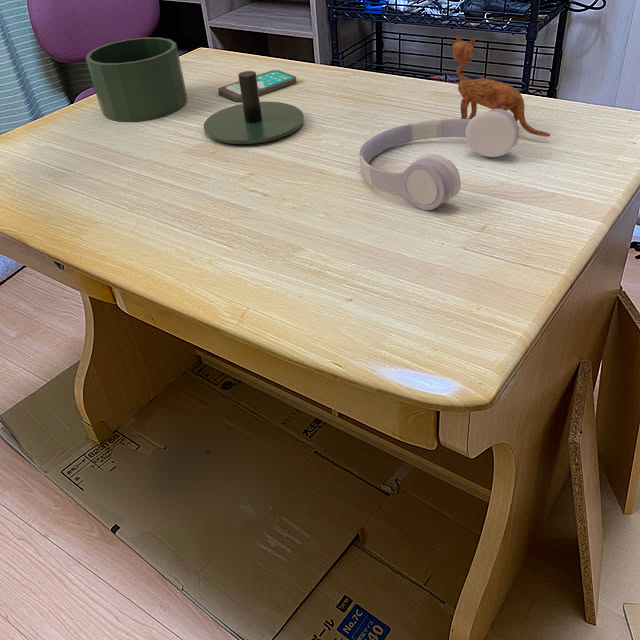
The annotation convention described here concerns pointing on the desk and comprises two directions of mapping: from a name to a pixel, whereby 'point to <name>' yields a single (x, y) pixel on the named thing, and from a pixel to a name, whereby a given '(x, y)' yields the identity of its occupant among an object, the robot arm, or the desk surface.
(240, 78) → the tin lid
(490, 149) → the headphones
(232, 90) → the smartphone
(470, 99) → the cat figurine
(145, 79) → the trash tin
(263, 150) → the desk surface
